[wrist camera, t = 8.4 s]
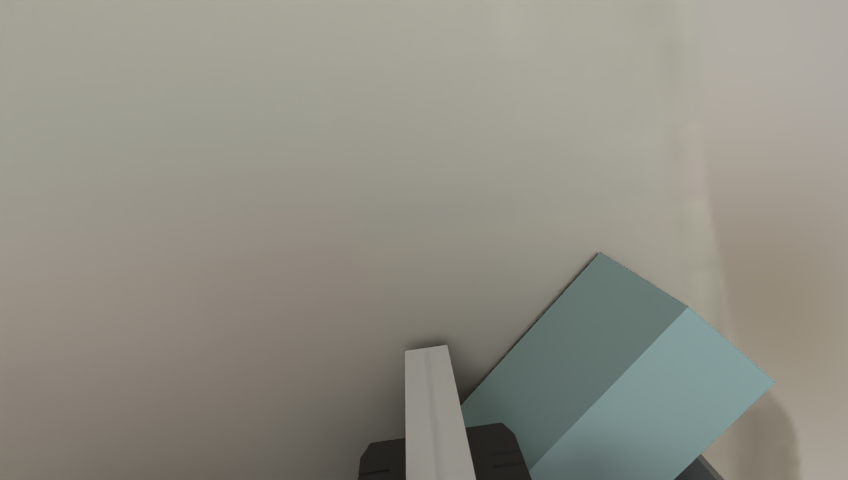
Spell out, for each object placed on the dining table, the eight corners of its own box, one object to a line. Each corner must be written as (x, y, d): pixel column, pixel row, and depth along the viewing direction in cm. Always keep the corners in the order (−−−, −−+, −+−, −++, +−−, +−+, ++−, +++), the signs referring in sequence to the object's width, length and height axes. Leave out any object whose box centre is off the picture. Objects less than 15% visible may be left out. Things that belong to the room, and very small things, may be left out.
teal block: (404, 576, 18) (403, 739, 13) (341, 536, 18) (315, 690, 13) (663, 305, 16) (775, 381, 11) (600, 252, 15) (688, 306, 11)
